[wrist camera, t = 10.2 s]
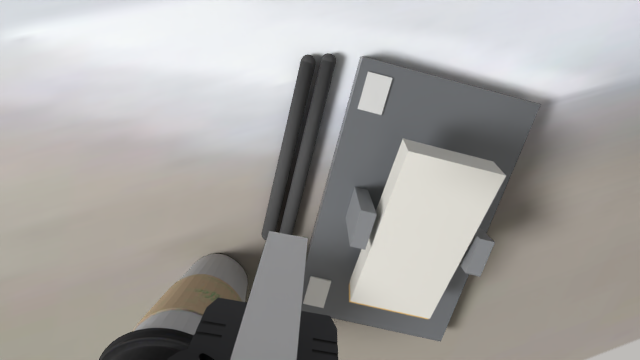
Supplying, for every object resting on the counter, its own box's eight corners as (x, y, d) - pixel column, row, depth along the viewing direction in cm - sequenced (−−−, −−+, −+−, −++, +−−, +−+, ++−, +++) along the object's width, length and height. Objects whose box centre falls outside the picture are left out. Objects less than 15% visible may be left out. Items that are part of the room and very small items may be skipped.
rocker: (402, 138, 27) (408, 150, 25) (493, 161, 28) (506, 175, 26) (348, 283, 34) (349, 303, 32) (422, 300, 34) (428, 321, 32)
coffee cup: (279, 260, 37) (253, 385, 23) (243, 332, 40) (198, 485, 25) (189, 222, 36) (101, 327, 22) (157, 298, 38) (59, 438, 24)
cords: (304, 46, 31) (303, 46, 30) (337, 55, 31) (337, 55, 30) (261, 235, 36) (259, 241, 35) (289, 242, 36) (288, 247, 35)
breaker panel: (360, 56, 31) (371, 54, 24) (527, 101, 32) (586, 112, 25) (295, 297, 38) (289, 351, 31) (434, 328, 39) (460, 387, 32)
